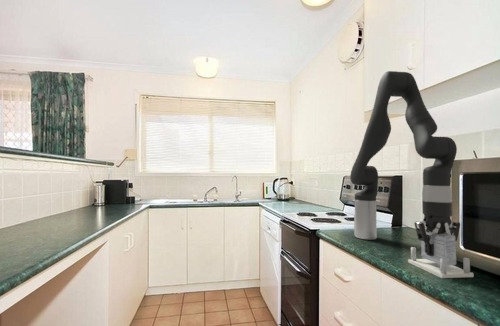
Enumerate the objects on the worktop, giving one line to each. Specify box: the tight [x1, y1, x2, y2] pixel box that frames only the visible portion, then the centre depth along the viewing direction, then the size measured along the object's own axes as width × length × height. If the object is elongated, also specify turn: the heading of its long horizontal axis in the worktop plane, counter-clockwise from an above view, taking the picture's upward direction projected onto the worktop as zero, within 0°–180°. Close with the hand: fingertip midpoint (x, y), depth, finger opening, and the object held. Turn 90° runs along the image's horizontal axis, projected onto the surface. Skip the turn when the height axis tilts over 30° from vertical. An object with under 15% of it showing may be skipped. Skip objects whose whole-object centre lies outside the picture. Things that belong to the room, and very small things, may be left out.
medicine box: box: [420, 232, 457, 266], centre depth 79 cm, size 8×4×9 cm, turn 16°
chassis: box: [407, 246, 474, 279], centre depth 79 cm, size 13×10×5 cm
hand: (437, 255), depth 79 cm, fingers closed on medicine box, 5 cm apart
